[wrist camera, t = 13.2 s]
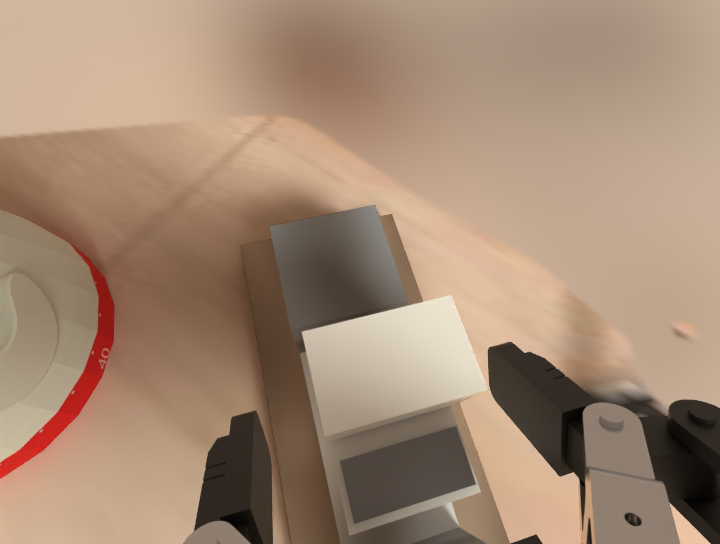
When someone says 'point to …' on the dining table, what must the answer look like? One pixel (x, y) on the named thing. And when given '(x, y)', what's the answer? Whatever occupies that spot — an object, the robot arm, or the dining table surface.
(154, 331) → the dining table surface
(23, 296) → the kitchen timer
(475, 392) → the block
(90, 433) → the dining table surface
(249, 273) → the rail plate
